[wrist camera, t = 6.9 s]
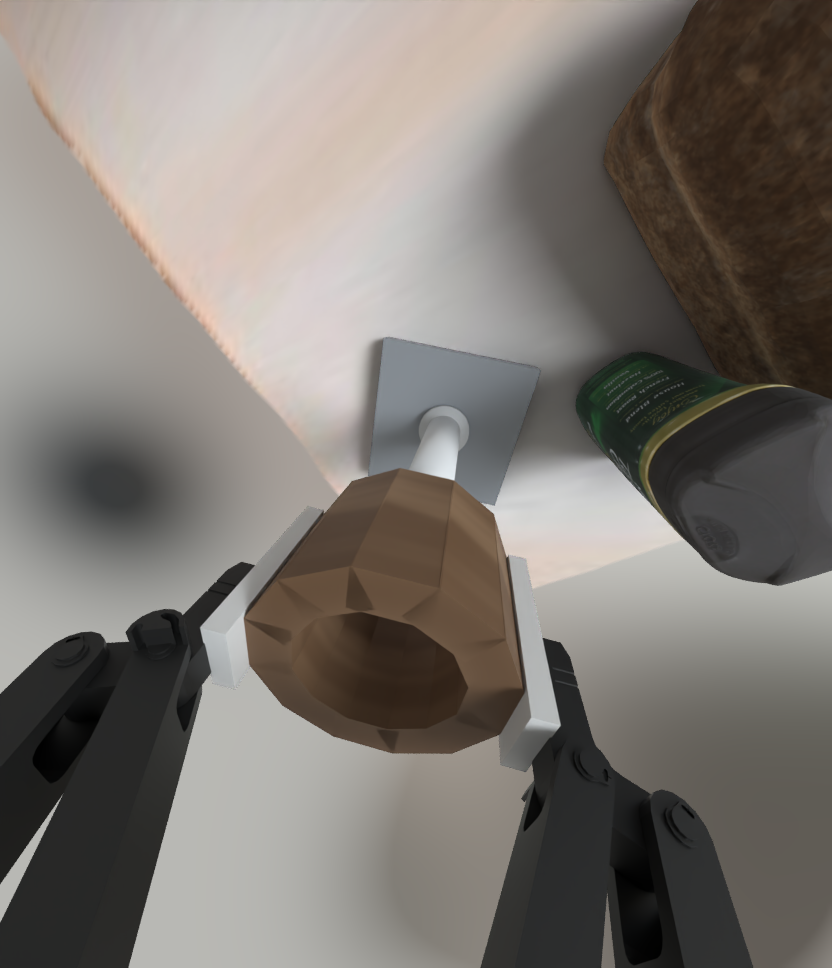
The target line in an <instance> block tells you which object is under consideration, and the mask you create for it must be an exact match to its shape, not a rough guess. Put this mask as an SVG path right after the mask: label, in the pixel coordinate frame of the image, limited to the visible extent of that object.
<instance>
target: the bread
mask: <svg viewBox="0 0 832 968" xmlns="http://www.w3.org/2000/svg"><path fill="white" fill-rule="evenodd" d="M604 166H605V168H606V169H607V171H608V173H609V174H610V176H611V178H612V179H613V181H614V183H615V185H616V187H617V189H618V191H619V192H620V194H621V196H622V198H623V200H624V202H625V204H626V206H627V208H628V210H629V212H630V214H631V216H632V218H633V220H634V222H635V224H636V226H637V228H638V230H639V232H640V234H641V236H642V238H643V240H644V242H645V244H646V246H647V247H648V249H649V251H650V253H651V254H652V256H653V258H654V260H655V262H656V263H657V265H658V267H659V269H660V270H661V272H662V274H663V275H664V277H665V279H666V280H667V282H668V284H669V286H670V287H671V289H672V291H673V292H674V294H675V296H676V297H677V299H678V301H679V302H680V304H681V306H682V307H683V309H684V311H685V312H686V314H687V316H688V317H689V319H690V320H691V322H692V324H693V325H694V327H695V329H696V331H697V333H698V335H699V337H700V339H701V341H702V343H703V345H704V347H705V349H706V351H707V353H708V355H709V357H710V359H711V361H712V362H713V364H714V366H715V368H716V369H717V371H718V372H719V374H720V375H721V377H723V378H726V379H729V380H732V381H735V382H738V383H742V384H746V385H752V384H779V385H787V386H792V387H795V388H800V389H803V390H806V391H809V392H812V393H815V394H818V395H821V396H823V397H826V398H829V399H831V400H832V0H698V1H697V2H696V4H695V5H694V7H693V8H692V10H691V11H690V13H689V16H688V18H687V20H686V23H685V25H684V27H683V29H682V31H681V32H680V34H679V35H678V36H677V37H676V38H675V39H674V41H673V42H672V43H671V45H670V46H669V47H668V49H667V50H666V51H665V53H664V54H663V55H662V57H661V58H660V59H659V61H658V62H657V63H656V65H655V66H654V67H653V69H652V70H651V71H650V73H649V74H648V75H647V77H646V78H645V79H644V81H643V82H642V83H641V85H640V86H639V87H638V88H637V90H636V91H635V93H634V94H633V96H632V97H631V99H630V100H629V102H628V103H627V105H626V107H625V108H624V110H623V111H622V113H621V114H620V116H619V118H618V119H617V121H616V122H615V124H614V126H613V127H612V129H611V130H610V132H609V136H608V141H607V146H606V150H605V155H604Z"/></svg>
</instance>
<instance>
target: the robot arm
mask: <svg viewBox="0 0 832 968" xmlns="http://www.w3.org/2000/svg"><path fill="white" fill-rule="evenodd" d="M323 514H324V511H323V510H321V509H317V508H313V507H309V506H307V508H306V509H305V510H304V511H303V512H302V513H301V514H300V515H299V517H298V518H297V519H296V520H295V521H294V522H293V523H292V525H291V526H290V527H289V528H288V529H287V530H286V531H285V532H284V534H283V535H282V536H281V537H280V538H279V539H278V540H277V541H276V543H275V544H274V545H273V546H272V547H271V548H270V549H269V550H268V552H267V553H266V554H265V555H264V556H263V557H262V558H261V559H260V561H259V562H258V563H257V564H256V565H252V564H248V563H244V562H240V563H239V564H237V565H235V566H233V567H232V568H230V569H228V570H227V571H226V572H225V573H224V574H223V575H222V576H221V577H220V578H219V579H218V580H217V582H216V583H214V584H213V585H212V586H211V587H210V588H209V589H208V591H206V592H205V593H204V594H203V595H202V596H201V597H200V598H199V599H198V600H197V601H196V602H195V603H194V604H193V605H192V607H191V608H189V610H188V611H187V612H186V613H185V614H184V615H182V614H181V613H180V612H178V611H176V610H172V609H163V610H158V611H153V612H151V613H149V614H147V615H145V616H142V617H141V618H139V619H138V620H137V621H135V622H134V623H133V624H132V625H131V626H130V627H129V628H128V630H127V631H126V635H127V637H128V640H129V642H116V643H106V642H105V640H104V638H103V637H102V636H101V634H99V633H95V632H81V633H78V634H75V635H71V636H68V637H66V638H64V639H62V640H60V641H58V642H56V643H54V644H53V645H52V646H51V647H50V648H48V649H47V650H45V651H44V652H43V653H42V654H41V655H40V656H39V657H38V658H37V659H36V660H35V661H34V662H33V663H32V664H31V665H30V666H29V667H28V668H26V669H25V670H24V671H23V672H22V673H21V674H20V675H19V676H18V677H17V678H16V679H15V680H14V681H13V682H12V683H11V684H10V685H9V686H8V687H7V688H6V689H5V690H4V691H3V692H2V693H1V694H0V884H1V882H2V881H3V879H4V878H5V877H6V875H7V873H8V872H9V871H10V869H11V867H13V865H14V863H15V862H16V861H17V859H18V858H19V856H20V855H21V854H22V852H23V851H24V849H25V848H26V846H27V845H28V844H29V842H30V841H31V839H32V838H33V836H34V835H35V833H36V832H37V831H38V829H39V828H40V826H41V825H42V823H43V822H44V821H45V819H46V818H47V816H48V815H49V813H50V812H51V810H52V809H53V808H54V806H55V805H56V803H57V802H58V800H59V799H60V798H61V796H62V795H63V796H62V798H61V800H60V802H59V804H58V806H57V808H56V810H55V812H54V814H53V816H52V818H51V820H50V822H49V825H48V826H47V828H46V830H45V832H44V835H43V836H42V838H41V841H40V843H39V845H38V847H37V849H36V851H35V853H34V855H33V857H32V859H31V861H30V863H29V865H28V867H27V869H26V871H25V873H24V875H23V877H22V879H21V882H20V884H19V886H18V888H17V890H16V892H15V894H14V896H13V898H12V900H11V902H10V904H9V906H8V908H7V910H6V912H5V914H4V917H3V918H2V920H1V922H0V968H128V966H129V963H130V959H131V955H132V952H133V948H134V944H135V941H136V937H137V933H138V929H139V925H140V922H141V918H142V915H143V911H144V907H145V903H146V900H147V896H148V892H149V888H150V885H151V881H152V877H153V874H154V870H155V866H156V862H157V859H158V855H159V851H160V848H161V843H162V840H163V837H164V833H165V829H166V825H167V822H168V818H169V814H170V810H171V807H172V803H173V799H174V796H175V792H176V788H177V785H178V781H179V777H180V773H181V770H182V766H183V762H184V759H185V755H186V751H187V747H188V744H189V740H190V736H191V733H192V729H193V725H194V721H195V718H196V714H197V710H198V707H199V702H200V699H201V695H202V684H203V683H204V681H205V680H206V679H207V677H208V676H209V675H210V674H211V678H212V683H213V684H216V685H219V686H223V687H226V688H230V689H233V690H235V689H236V688H237V686H238V685H239V683H240V682H241V680H242V679H243V677H244V676H245V674H246V672H247V671H248V669H249V668H250V665H249V659H248V651H247V643H246V634H245V626H244V617H245V616H246V614H247V613H248V612H249V610H250V609H251V608H252V607H253V605H254V604H255V603H256V601H257V600H258V599H259V597H260V596H261V595H262V594H263V592H264V591H265V590H266V588H267V587H268V586H269V585H270V583H271V582H272V581H273V579H274V578H275V577H276V576H277V574H278V573H279V572H280V570H281V569H282V568H283V566H284V565H285V564H286V563H287V561H288V560H289V559H290V557H291V556H292V555H293V554H294V552H295V551H296V550H297V548H298V547H299V546H300V545H301V543H302V542H303V541H304V539H305V538H306V537H307V536H308V534H309V533H310V532H311V530H312V529H313V528H314V526H315V525H316V524H317V523H318V521H319V520H320V519H321V517H322V516H323ZM507 565H508V573H509V580H510V588H511V595H512V603H513V610H514V618H515V625H516V633H517V640H518V648H519V655H520V663H521V670H522V678H523V685H524V695H523V697H522V698H521V700H520V702H519V703H518V705H517V707H516V709H515V710H514V712H513V714H512V715H511V717H510V719H509V720H508V722H507V724H506V726H505V727H504V729H503V731H502V732H501V734H500V735H499V747H500V765H502V766H506V767H509V768H513V769H516V770H520V771H524V772H526V771H527V770H528V768H529V767H530V766H531V764H532V766H533V773H534V781H533V783H532V784H531V785H530V786H529V788H528V789H527V790H526V791H525V793H524V795H523V797H522V798H521V799H522V800H523V801H524V802H525V801H526V804H525V807H524V811H523V815H522V819H521V822H520V826H519V830H518V833H517V837H516V840H515V844H514V848H513V851H512V855H511V859H510V862H509V866H508V870H507V873H506V877H505V880H504V884H503V888H502V891H501V895H500V899H499V902H498V906H497V909H496V913H495V917H494V921H493V924H492V928H491V931H490V935H489V939H488V943H487V946H486V950H485V953H484V957H483V960H482V964H481V968H601V961H602V949H603V936H604V924H605V923H604V922H605V911H606V898H607V893H608V902H609V911H610V921H611V931H612V940H613V949H614V958H615V968H753V965H752V962H751V959H750V956H749V952H748V949H747V946H746V943H745V940H744V937H743V934H742V931H741V928H740V925H739V922H738V919H737V915H736V913H735V909H734V906H733V903H732V900H731V897H730V894H729V891H728V887H727V884H726V881H725V878H724V875H723V872H722V869H721V866H720V863H719V860H718V857H717V853H716V851H715V847H714V844H713V841H712V839H711V837H710V835H709V832H708V830H707V828H706V826H705V825H704V823H703V822H702V820H701V819H700V817H699V816H698V815H697V813H696V812H695V811H694V810H693V809H692V808H691V807H690V806H689V805H688V804H687V803H686V802H685V801H684V800H683V799H681V798H680V797H678V796H677V795H675V794H674V793H672V792H669V791H665V790H659V791H656V792H653V793H652V794H649V793H648V792H646V791H645V790H643V789H641V788H640V787H638V786H637V785H635V784H634V783H632V782H631V781H629V780H627V779H626V778H624V777H623V776H621V775H620V774H619V773H617V772H616V771H615V770H613V768H612V767H611V766H610V764H609V762H608V760H607V759H606V758H605V756H604V755H603V753H602V752H601V751H600V750H599V749H598V748H597V747H596V745H595V743H594V741H593V738H592V735H591V731H590V727H589V724H588V720H587V717H586V713H585V710H584V706H583V702H582V699H581V695H580V692H579V689H578V688H577V686H578V685H577V681H576V677H575V676H574V670H573V667H572V663H571V659H570V657H569V655H568V654H567V652H566V651H565V649H564V647H563V646H562V644H561V643H560V642H556V641H552V640H548V639H545V638H542V634H541V629H540V624H539V619H538V615H537V610H536V605H535V600H534V596H533V591H532V586H531V581H530V576H529V572H528V567H527V562H526V559H525V558H521V557H516V556H512V555H508V557H507ZM63 793H64V794H63Z"/></svg>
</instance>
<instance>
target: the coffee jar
mask: <svg viewBox="0 0 832 968" xmlns="http://www.w3.org/2000/svg"><path fill="white" fill-rule="evenodd" d="M576 411H577V414H578V416H579V418H580V420H581V422H582V424H583V426H584V428H585V430H586V431H587V433H588V434H589V436H590V437H591V438H592V440H593V441H594V442H595V443H596V445H597V446H598V447H599V448H600V449H601V450H602V451H603V452H604V453H605V454H606V456H608V458H609V459H610V460H611V461H612V462H613V463H614V464H615V465H616V467H617V468H618V469H619V470H620V471H621V472H622V473H623V474H624V476H625V477H626V478H627V479H628V480H629V481H630V482H631V483H632V485H633V486H634V487H635V488H636V489H637V490H638V491H639V492H640V493H641V494H642V495H643V496H644V497H645V498H646V499H647V501H648V502H649V503H650V504H651V505H652V506H653V507H654V508H655V509H656V510H657V511H658V512H659V513H660V514H661V515H662V517H663V518H664V519H665V520H666V521H667V522H668V523H669V524H670V525H671V526H672V527H673V528H674V530H675V531H676V532H677V533H678V534H679V535H680V536H681V537H682V538H683V539H685V540H686V541H687V542H688V543H689V544H690V545H691V546H692V547H693V548H694V549H695V550H696V551H697V552H698V553H699V554H700V555H701V556H702V558H703V559H704V560H705V561H706V562H707V563H709V564H710V565H711V566H712V567H713V568H715V569H716V570H718V571H720V572H722V573H724V574H726V575H728V576H731V577H734V578H738V579H742V580H746V581H752V582H758V583H768V584H772V585H777V586H779V585H784V584H788V583H792V582H795V581H799V580H802V579H805V578H809V577H812V576H816V575H819V574H822V573H825V572H828V571H832V400H831V399H829V398H826V397H823V396H821V395H818V394H815V393H812V392H809V391H806V390H803V389H800V388H795V387H792V386H787V385H779V384H752V385H746V384H742V383H738V382H735V381H732V380H729V379H726V378H723V377H720V376H716V375H713V374H710V373H707V372H704V371H701V370H698V369H695V368H692V367H689V366H687V365H684V364H681V363H678V362H676V361H673V360H670V359H668V358H665V357H662V356H659V355H656V354H652V353H648V352H635V353H631V354H628V355H625V356H623V357H621V358H619V359H618V360H616V361H614V362H612V363H611V364H609V365H608V366H606V367H605V368H603V369H602V370H601V371H599V372H598V373H597V374H595V375H594V376H593V377H592V378H591V379H589V380H588V381H587V382H586V383H585V384H584V386H583V387H582V388H581V390H580V392H579V394H578V396H577V399H576Z"/></svg>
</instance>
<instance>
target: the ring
mask: <svg viewBox="0 0 832 968" xmlns="http://www.w3.org/2000/svg"><path fill="white" fill-rule="evenodd" d="M244 626H245V634H246V643H247V651H248V659H249V665H250V666H251V667H252V669H253V670H254V671H255V672H256V674H257V675H258V676H259V677H260V678H261V680H262V681H263V682H264V683H265V685H266V686H267V687H268V688H269V690H270V691H271V692H272V693H273V695H274V696H275V697H276V698H277V699H278V701H279V702H280V703H281V704H282V706H284V707H286V708H287V709H289V710H291V711H292V712H294V713H296V714H297V715H299V716H301V717H302V718H304V719H305V720H307V721H309V722H310V723H312V724H314V725H315V726H317V727H319V728H321V729H322V730H324V731H325V732H327V733H329V734H330V735H332V736H334V737H338V738H341V739H345V740H348V741H351V742H355V743H358V744H362V745H365V746H369V747H373V748H376V749H379V750H383V751H386V752H390V753H440V754H443V753H446V754H451V753H454V752H457V751H460V750H462V749H465V748H467V747H469V746H472V745H474V744H477V743H480V742H482V741H485V740H487V739H490V738H492V737H495V736H497V735H500V734H501V732H502V731H503V729H504V727H505V726H506V724H507V722H508V720H509V719H510V717H511V715H512V714H513V712H514V710H515V709H516V707H517V705H518V703H519V702H520V700H521V698H522V697H523V695H524V685H523V678H522V670H521V663H520V655H519V648H518V640H517V633H516V625H515V618H514V610H513V603H512V595H511V588H510V580H509V573H508V565H507V557H506V554H505V551H504V547H503V544H502V541H501V537H500V534H499V531H498V527H497V524H496V521H495V517H494V514H493V513H492V512H490V511H489V510H488V509H487V508H486V507H485V506H483V505H482V504H481V503H480V502H479V501H478V500H476V499H475V498H474V497H473V496H472V495H471V494H469V493H468V492H467V491H466V490H465V489H464V488H462V487H461V486H460V485H459V484H458V483H457V482H455V480H451V479H446V478H442V477H438V476H433V475H429V474H425V473H420V472H416V471H411V470H407V469H403V468H398V469H394V470H391V471H387V472H383V473H380V474H376V475H373V476H369V477H365V478H362V479H358V480H355V481H352V482H351V483H350V484H349V486H348V487H347V488H346V489H345V490H344V491H343V493H342V494H341V495H340V496H339V497H338V498H337V500H336V501H335V502H334V503H333V504H332V505H331V507H330V508H329V509H328V510H327V512H325V513H324V515H323V516H322V517H321V519H320V520H319V521H318V523H317V524H316V525H315V526H314V528H313V529H312V530H311V532H310V533H309V534H308V536H307V537H306V538H305V539H304V541H303V542H302V543H301V545H300V546H299V547H298V548H297V550H296V551H295V552H294V554H293V555H292V556H291V557H290V559H289V560H288V561H287V563H286V564H285V565H284V566H283V568H282V569H281V570H280V572H279V573H278V574H277V576H276V577H275V578H274V579H273V581H272V582H271V583H270V585H269V586H268V587H267V588H266V590H265V591H264V592H263V594H262V595H261V596H260V597H259V599H258V600H257V601H256V603H255V604H254V605H253V607H252V608H251V609H250V610H249V612H248V613H247V614H246V616H245V617H244Z"/></svg>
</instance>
